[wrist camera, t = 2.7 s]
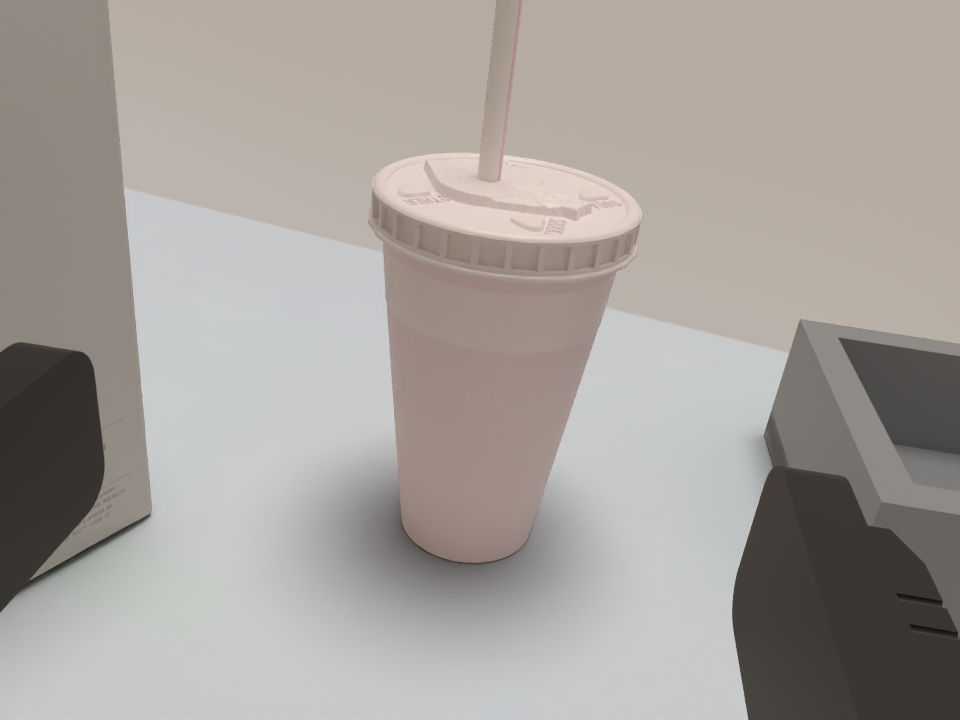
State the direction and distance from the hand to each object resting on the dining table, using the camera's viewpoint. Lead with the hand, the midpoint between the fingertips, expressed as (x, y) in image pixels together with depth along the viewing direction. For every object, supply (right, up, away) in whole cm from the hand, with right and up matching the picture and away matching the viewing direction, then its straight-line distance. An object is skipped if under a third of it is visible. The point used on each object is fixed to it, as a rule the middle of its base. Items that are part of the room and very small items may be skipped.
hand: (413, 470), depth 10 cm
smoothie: (0, -3, +15) cm, 15 cm away
